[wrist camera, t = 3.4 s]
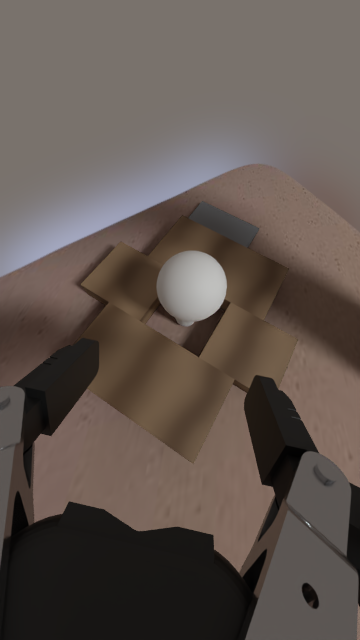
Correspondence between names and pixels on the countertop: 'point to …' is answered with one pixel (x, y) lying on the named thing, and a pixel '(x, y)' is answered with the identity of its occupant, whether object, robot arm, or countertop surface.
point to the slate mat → (224, 224)
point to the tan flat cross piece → (170, 358)
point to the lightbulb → (191, 286)
